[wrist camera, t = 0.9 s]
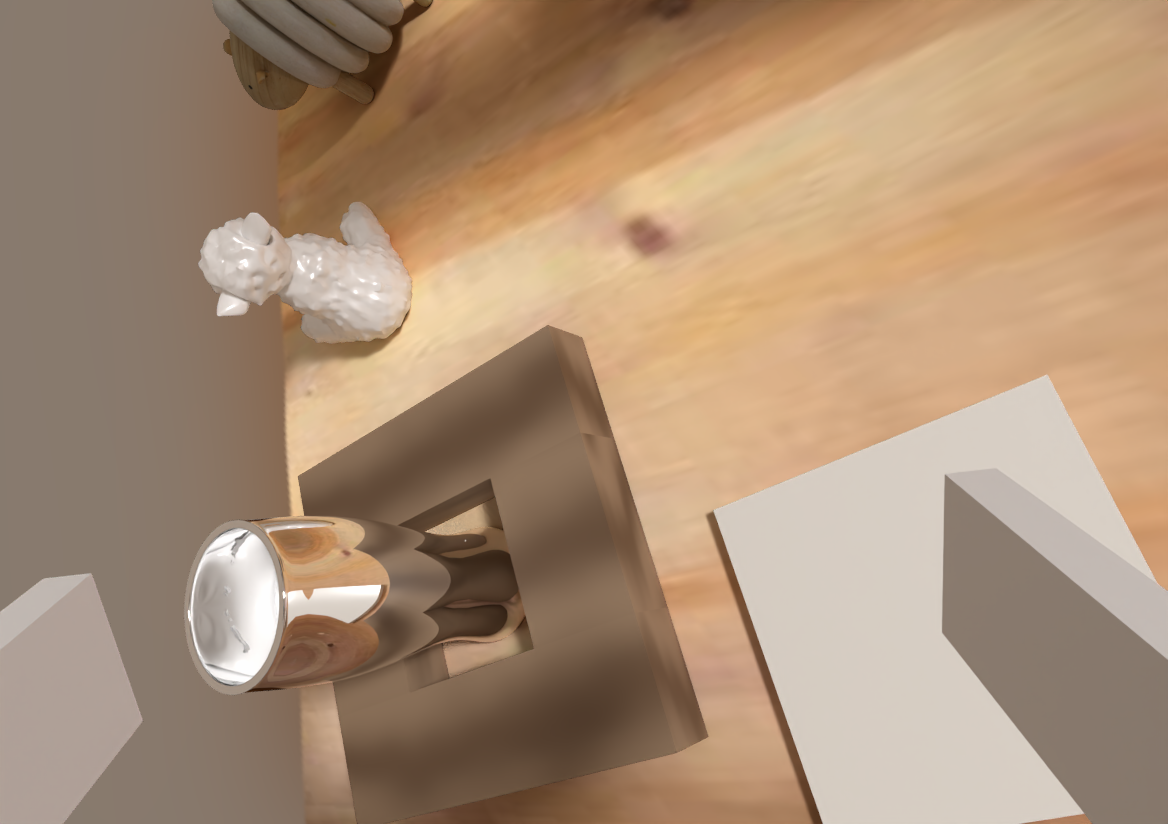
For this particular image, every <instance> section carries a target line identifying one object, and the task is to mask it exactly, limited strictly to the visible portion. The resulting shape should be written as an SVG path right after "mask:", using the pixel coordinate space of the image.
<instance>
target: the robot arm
mask: <svg viewBox="0 0 1168 824" xmlns="http://www.w3.org/2000/svg"><path fill="white" fill-rule="evenodd" d="M942 633H943V634H944V636H945V637H946V638H947V640H948V641H949V642H950V643H951V645H952V646H953V647H954V648H955V650H956V651H957V652H958V654H959V655H960V656H961V657H962V659H963V660H964V661H965V662H966V664H967V665H968V666H969V668H970V669H971V670H972V671H973V673H974V674H975V675H976V676H977V678H978V679H979V680H980V681H981V683H982V684H983V685H984V687H985V688H986V689H987V690H988V692H989V693H990V694H991V695H992V697H993V698H994V699H995V701H996V702H997V703H998V704H999V706H1000V707H1001V708H1002V709H1003V711H1004V712H1005V713H1006V715H1007V716H1008V717H1009V718H1010V720H1011V721H1012V722H1013V723H1014V725H1015V726H1016V727H1017V729H1018V730H1019V731H1020V732H1021V734H1022V735H1023V736H1024V737H1025V739H1026V740H1027V741H1028V742H1029V744H1030V745H1031V746H1032V748H1033V749H1034V750H1035V751H1036V753H1037V754H1038V755H1039V756H1040V758H1041V759H1042V760H1043V762H1044V763H1045V764H1046V765H1047V767H1048V768H1049V769H1050V770H1051V772H1052V773H1053V774H1054V776H1055V777H1056V778H1057V779H1058V781H1059V782H1060V783H1061V784H1062V786H1063V787H1064V788H1065V789H1066V791H1067V792H1068V793H1069V795H1070V796H1071V797H1072V798H1073V800H1074V801H1075V802H1076V803H1077V805H1078V806H1079V807H1080V809H1081V810H1082V811H1083V812H1084V814H1085V815H1086V816H1087V817H1088V819H1089V820H1090V821H1091V823H1092V824H1168V591H1167V590H1165V589H1164V588H1163V587H1161V586H1160V585H1158V584H1157V583H1156V582H1154V581H1153V580H1152V579H1150V578H1149V577H1147V576H1146V575H1145V574H1143V573H1142V572H1140V571H1139V570H1138V569H1136V568H1135V567H1133V566H1132V565H1131V564H1129V563H1128V562H1126V561H1125V560H1124V559H1122V558H1121V557H1119V556H1118V555H1117V554H1115V553H1114V552H1112V551H1111V550H1110V549H1108V548H1107V547H1105V546H1104V545H1103V544H1101V543H1100V542H1098V541H1097V540H1096V539H1094V538H1093V537H1092V536H1090V535H1089V534H1087V533H1086V532H1085V531H1083V530H1082V529H1080V528H1079V527H1078V526H1076V525H1075V524H1073V523H1072V522H1071V521H1069V520H1068V519H1066V518H1065V517H1064V516H1062V515H1061V514H1059V513H1058V512H1057V511H1055V510H1054V509H1052V508H1051V507H1050V506H1048V505H1047V504H1045V503H1044V502H1043V501H1041V500H1040V499H1038V498H1037V497H1036V496H1034V495H1033V494H1032V493H1030V492H1029V491H1027V490H1026V489H1025V488H1023V487H1022V486H1020V485H1019V484H1018V483H1016V482H1015V481H1013V480H1012V479H1011V478H1009V477H1008V476H1006V475H1005V474H1004V473H1002V472H1001V471H999V470H998V469H997V468H992V469H983V470H975V471H966V472H957V473H949V474H945V482H944V539H943V595H942ZM142 722H143V719H142V716H141V713H140V710H139V708H138V705H137V702H136V699H135V696H134V693H133V690H132V688H131V685H130V682H129V679H128V676H127V673H126V670H125V667H124V665H123V662H122V659H121V656H120V653H119V650H118V648H117V645H116V642H115V639H114V636H113V633H112V630H111V627H110V625H109V622H108V619H107V616H106V613H105V610H104V608H103V604H102V602H101V599H100V596H99V593H98V591H97V587H96V585H95V581H94V579H93V576H92V574H91V573H88V574H79V575H71V576H62V577H53V578H45V579H42V580H41V581H40V582H38V583H37V584H36V585H35V586H33V587H32V588H31V589H29V590H28V591H27V592H25V593H24V594H23V595H22V596H20V597H19V598H18V599H16V600H15V601H14V602H13V603H11V604H10V605H9V606H7V607H6V608H5V609H4V610H2V611H1V612H0V824H63V823H64V822H65V821H66V819H67V818H68V817H69V815H70V814H71V813H72V812H73V810H74V809H75V808H76V807H77V805H78V804H79V803H80V801H81V800H82V799H83V797H84V796H85V795H86V794H87V792H88V791H89V790H90V789H91V787H92V786H93V785H94V783H95V782H96V781H97V779H98V778H99V777H100V776H101V774H102V773H103V772H104V771H105V769H106V768H107V766H108V765H109V764H110V763H111V761H112V760H113V759H114V758H115V756H116V755H117V754H118V753H119V751H120V750H121V749H122V747H123V746H124V745H125V744H126V742H127V741H128V740H129V738H130V737H131V736H132V735H133V733H134V732H135V731H136V729H137V728H138V727H139V726H140V724H141V723H142Z"/></svg>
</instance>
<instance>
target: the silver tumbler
mask: <svg viewBox="0 0 1168 824" xmlns="http://www.w3.org/2000/svg"><path fill="white" fill-rule="evenodd" d="M524 617H525V611H524V608H523V604H522V600H521V596H520V592H519V588H518V584H517V580H516V576H515V572H514V568H513V565H512V561H511V557H510V553H509V549H508V545H507V541H506V537H505V533H504V531H503V530H501V529H498V528H494V527H479V528H474V529H470V530H466V531H463V532H459V533H455V534H449V535H440V534H431V533H427V532H422V531H418V530H414V529H409V528H405V527H401V526H397V525H393V524H388V523H384V522H380V521H374V520H368V519H362V518H356V517H343V516H292V517H279V518H266V519H255V520H231V521H228V522H225V523H223V524H222V525H220V526H218V527H217V528H216V529H214V530H213V531H212V532H211V533H210V534H209V535H208V537H207V538H206V539H205V540H204V542H203V543H202V545H201V547H200V548H199V550H198V552H197V554H196V556H195V559H194V561H193V564H192V567H191V570H190V573H189V577H188V581H187V586H186V593H185V602H184V623H185V633H186V639H187V644H188V648H189V651H190V655H191V658H192V660H193V662H194V665H195V667H196V669H197V671H198V672H199V674H200V676H201V677H202V678H203V679H204V681H205V682H206V683H207V684H208V685H209V686H210V687H211V688H213V689H214V690H216V691H218V692H220V693H223V694H226V695H238V694H242V693H248V692H258V691H270V690H281V689H290V688H300V687H307V686H313V685H320V684H326V683H331V682H335V681H340V680H344V679H348V678H352V677H356V676H360V675H362V674H365V673H368V672H371V671H374V670H377V669H379V668H382V667H385V666H387V665H390V664H392V663H394V662H397V661H399V660H401V659H404V658H406V657H408V656H411V655H413V654H415V653H418V652H420V651H422V650H424V649H427V648H429V647H432V646H435V645H437V644H440V643H444V642H448V641H454V640H468V641H476V642H496V641H499V640H502V639H504V638H506V637H507V636H509V635H510V634H512V633H513V632H514V631H515V630H516V629H517V628H518V627H519V625H520V624H521V622H522V621H523V619H524Z"/></svg>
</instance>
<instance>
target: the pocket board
mask: <svg viewBox="0 0 1168 824" xmlns="http://www.w3.org/2000/svg"><path fill="white" fill-rule="evenodd" d="M298 480H299V486H300V492H301V498H302V504H303V510H304V516H343V517H356V518H362V519H368V520H374V521H380V522H384V523H388V524H393V525H397V526H401V527H405V528H409V529H414V530H418V531H422V532H425V531H427V530H429V529H431V528H433V527H435V526H437V525H439V524H441V523H443V522H445V521H447V520H449V519H451V518H453V517H455V516H457V515H459V514H461V513H463V512H465V511H467V510H469V509H471V508H474V507H476V506H478V505H480V504H482V503H484V502H486V501H488V500H490V499H492V498H494V497H495V498H496V502H497V506H498V510H499V514H500V518H501V522H502V525H503V529H504V533H505V537H506V541H507V545H508V549H509V553H510V557H511V561H512V565H513V568H514V572H515V576H516V580H517V584H518V588H519V592H520V596H521V600H522V604H523V608H524V611H525V615H526V619H527V623H528V627H529V631H530V635H531V639H532V643H533V647H534V649H531V650H529V651H526V652H523V653H520V654H517V655H515V656H512V657H509V658H506V659H503V660H500V661H498V662H495V663H492V664H489V665H486V666H483V667H481V668H478V669H475V670H472V671H469V672H466V673H464V674H461V675H458V676H455V677H452V678H449V674H448V670H447V665H446V660H445V656H444V651H443V647H442V643H440V644H437V645H435V646H432V647H429V648H427V649H424V650H422V651H420V652H418V653H415V654H413V655H411V656H408V657H406V658H404V659H401V660H399V661H397V662H394V663H392V664H390V665H387V666H385V667H382V668H379V669H377V670H374V671H371V672H368V673H365V674H362V675H360V676H356V677H352V678H348V679H344V680H340V681H335V682H333V686H334V691H335V697H336V703H337V709H338V715H339V721H340V727H341V733H342V738H343V744H344V750H345V756H346V762H347V768H348V774H349V779H350V785H351V791H352V797H353V803H354V809H355V815H356V821H357V824H386V823H390V822H394V821H398V820H402V819H407V818H411V817H415V816H419V815H423V814H427V813H431V812H435V811H439V810H444V809H448V808H452V807H456V806H460V805H464V804H468V803H472V802H477V801H481V800H485V799H489V798H493V797H497V796H501V795H505V794H509V793H514V792H518V791H522V790H526V789H530V788H534V787H538V786H542V785H547V784H551V783H555V782H559V781H563V780H567V779H571V778H575V777H579V776H584V775H588V774H592V773H596V772H600V771H604V770H608V769H612V768H617V767H621V766H625V765H629V764H633V763H637V762H641V761H645V760H649V759H654V758H658V757H662V756H666V755H670V754H674V753H678V752H680V751H682V750H683V749H685V748H687V747H689V746H691V745H693V744H695V743H697V742H699V741H701V740H703V739H705V738H707V737H708V734H707V731H706V728H705V724H704V721H703V718H702V715H701V712H700V709H699V705H698V702H697V699H696V696H695V693H694V690H693V686H692V683H691V680H690V677H689V674H688V671H687V668H686V664H685V661H684V658H683V655H682V652H681V649H680V645H679V642H678V639H677V636H676V633H675V630H674V626H673V623H672V620H671V617H670V614H669V611H668V607H667V604H666V601H665V598H664V595H663V592H662V588H661V585H660V582H659V579H658V576H657V573H656V570H655V566H654V563H653V560H652V557H651V554H650V551H649V547H648V544H647V541H646V538H645V535H644V532H643V528H642V525H641V522H640V519H639V516H638V513H637V509H636V506H635V503H634V500H633V497H632V494H631V491H630V487H629V484H628V481H627V478H626V475H625V472H624V468H623V465H622V462H621V459H620V456H619V453H618V449H617V446H616V443H615V440H614V437H613V434H612V430H611V427H610V424H609V421H608V418H607V415H606V411H605V408H604V405H603V402H602V399H601V396H600V393H599V389H598V386H597V383H596V380H595V377H594V374H593V370H592V367H591V364H590V361H589V358H588V355H587V351H586V348H585V345H584V342H583V339H582V337H579V336H577V335H574V334H571V333H568V332H565V331H563V330H560V329H557V328H554V327H552V326H549V325H547V326H546V327H544V328H542V329H541V330H539V331H537V332H536V333H534V334H532V335H531V336H529V337H527V338H526V339H524V340H522V341H521V342H519V343H517V344H516V345H514V346H512V347H511V348H509V349H508V350H506V351H504V352H503V353H501V354H499V355H498V356H496V357H494V358H493V359H491V360H489V361H488V362H486V363H484V364H483V365H481V366H479V367H478V368H476V369H474V370H473V371H471V372H469V373H468V374H466V375H465V376H463V377H461V378H460V379H458V380H456V381H455V382H453V383H451V384H450V385H448V386H446V387H445V388H443V389H441V390H440V391H438V392H436V393H435V394H433V395H431V396H430V397H428V398H426V399H425V400H423V401H422V402H420V403H418V404H417V405H415V406H413V407H412V408H410V409H408V410H407V411H405V412H403V413H402V414H400V415H398V416H397V417H395V418H393V419H392V420H390V421H388V422H387V423H385V424H383V425H382V426H380V427H379V428H377V429H375V430H374V431H372V432H370V433H369V434H367V435H365V436H364V437H362V438H360V439H359V440H357V441H355V442H354V443H352V444H350V445H349V446H347V447H345V448H344V449H342V450H340V451H339V452H337V453H336V454H334V455H332V456H331V457H329V458H327V459H326V460H324V461H322V462H321V463H319V464H317V465H316V466H314V467H312V468H311V469H309V470H307V471H306V472H304V473H302V474H301V475H299V476H298Z"/></svg>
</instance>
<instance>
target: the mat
mask: <svg viewBox="0 0 1168 824" xmlns="http://www.w3.org/2000/svg"><path fill="white" fill-rule="evenodd" d="M992 468H997V469H998V470H999V471H1001V472H1002V473H1004V474H1005V475H1006V476H1008V477H1009V478H1011V479H1012V480H1013V481H1015V482H1016V483H1018V484H1019V485H1020V486H1022V487H1023V488H1025V489H1026V490H1027V491H1029V492H1030V493H1032V494H1033V495H1034V496H1036V497H1037V498H1038V499H1040V500H1041V501H1043V502H1044V503H1045V504H1047V505H1048V506H1050V507H1051V508H1052V509H1054V510H1055V511H1057V512H1058V513H1059V514H1061V515H1062V516H1064V517H1065V518H1066V519H1068V520H1069V521H1071V522H1072V523H1073V524H1075V525H1076V526H1078V527H1079V528H1080V529H1082V530H1083V531H1085V532H1086V533H1087V534H1089V535H1090V536H1092V537H1093V538H1094V539H1096V540H1097V541H1098V542H1100V543H1101V544H1103V545H1104V546H1105V547H1107V548H1108V549H1110V550H1111V551H1112V552H1114V553H1115V554H1117V555H1118V556H1119V557H1121V558H1122V559H1124V560H1125V561H1126V562H1128V563H1129V564H1131V565H1132V566H1133V567H1135V568H1136V569H1138V570H1139V571H1140V572H1142V573H1143V574H1145V575H1146V576H1147V577H1149V578H1150V579H1152V580H1153V581H1154V582H1156V580H1155V578H1154V576H1153V574H1152V572H1151V570H1150V568H1149V567H1148V565H1147V563H1146V561H1145V559H1144V557H1143V555H1142V553H1141V551H1140V549H1139V548H1138V546H1137V544H1136V542H1135V540H1134V538H1133V536H1132V534H1131V532H1130V530H1129V529H1128V527H1127V525H1126V523H1125V521H1124V519H1123V517H1122V515H1121V513H1120V512H1119V510H1118V508H1117V506H1116V504H1115V502H1114V500H1113V498H1112V496H1111V494H1110V493H1109V491H1108V489H1107V487H1106V485H1105V483H1104V481H1103V479H1102V477H1101V476H1100V474H1099V472H1098V470H1097V468H1096V466H1095V464H1094V462H1093V460H1092V458H1091V457H1090V455H1089V453H1088V451H1087V449H1086V447H1085V445H1084V443H1083V441H1082V439H1081V438H1080V436H1079V434H1078V432H1077V430H1076V428H1075V426H1074V424H1073V422H1072V421H1071V419H1070V417H1069V415H1068V413H1067V411H1066V409H1065V407H1064V405H1063V403H1062V402H1061V400H1060V398H1059V396H1058V394H1057V392H1056V390H1055V388H1054V386H1053V385H1052V383H1051V381H1050V379H1049V377H1048V375H1045V376H1043V377H1040V378H1038V379H1035V380H1033V381H1030V382H1028V383H1025V384H1023V385H1021V386H1018V387H1016V388H1013V389H1011V390H1008V391H1006V392H1003V393H1001V394H998V395H996V396H993V397H991V398H989V399H986V400H984V401H981V402H979V403H976V404H974V405H971V406H969V407H966V408H964V409H961V410H959V411H956V412H954V413H952V414H949V415H947V416H944V417H942V418H939V419H937V420H934V421H932V422H929V423H927V424H924V425H922V426H920V427H917V428H915V429H912V430H910V431H907V432H905V433H902V434H900V435H897V436H895V437H892V438H890V439H888V440H885V441H883V442H880V443H878V444H875V445H873V446H870V447H868V448H865V449H863V450H860V451H858V452H855V453H853V454H851V455H848V456H846V457H843V458H841V459H838V460H836V461H833V462H831V463H828V464H826V465H823V466H821V467H819V468H816V469H814V470H811V471H809V472H806V473H804V474H801V475H799V476H796V477H794V478H791V479H789V480H786V481H784V482H782V483H779V484H777V485H774V486H772V487H769V488H767V489H764V490H762V491H759V492H757V493H754V494H752V495H750V496H747V497H745V498H742V499H740V500H737V501H735V502H732V503H730V504H727V505H725V506H722V507H720V508H718V509H715V510H713V511H714V514H715V517H716V519H717V522H718V525H719V528H720V531H721V534H722V537H723V539H724V542H725V545H726V548H727V551H728V554H729V557H730V559H731V562H732V565H733V568H734V571H735V574H736V577H737V579H738V582H739V585H740V588H741V591H742V594H743V597H744V599H745V602H746V605H747V608H748V611H749V614H750V617H751V619H752V622H753V625H754V628H755V631H756V634H757V637H758V640H759V642H760V645H761V648H762V651H763V654H764V657H765V660H766V662H767V665H768V668H769V671H770V674H771V677H772V680H773V682H774V685H775V688H776V691H777V694H778V697H779V700H780V702H781V705H782V708H783V711H784V714H785V717H786V720H787V722H788V725H789V728H790V731H791V734H792V737H793V740H794V742H795V745H796V748H797V751H798V754H799V757H800V760H801V762H802V765H803V768H804V771H805V774H806V777H807V780H808V782H809V785H810V788H811V791H812V794H813V797H814V800H815V802H816V805H817V808H818V811H819V814H820V817H821V820H822V822H823V824H1021V823H1027V822H1034V821H1040V820H1046V819H1053V818H1059V817H1066V816H1072V815H1079V814H1084V812H1083V811H1082V810H1081V809H1080V807H1079V806H1078V805H1077V803H1076V802H1075V801H1074V800H1073V798H1072V797H1071V796H1070V795H1069V793H1068V792H1067V791H1066V789H1065V788H1064V787H1063V786H1062V784H1061V783H1060V782H1059V781H1058V779H1057V778H1056V777H1055V776H1054V774H1053V773H1052V772H1051V770H1050V769H1049V768H1048V767H1047V765H1046V764H1045V763H1044V762H1043V760H1042V759H1041V758H1040V756H1039V755H1038V754H1037V753H1036V751H1035V750H1034V749H1033V748H1032V746H1031V745H1030V744H1029V742H1028V741H1027V740H1026V739H1025V737H1024V736H1023V735H1022V734H1021V732H1020V731H1019V730H1018V729H1017V727H1016V726H1015V725H1014V723H1013V722H1012V721H1011V720H1010V718H1009V717H1008V716H1007V715H1006V713H1005V712H1004V711H1003V709H1002V708H1001V707H1000V706H999V704H998V703H997V702H996V701H995V699H994V698H993V697H992V695H991V694H990V693H989V692H988V690H987V689H986V688H985V687H984V685H983V684H982V683H981V681H980V680H979V679H978V678H977V676H976V675H975V674H974V673H973V671H972V670H971V669H970V668H969V666H968V665H967V664H966V662H965V661H964V660H963V659H962V657H961V656H960V655H959V654H958V652H957V651H956V650H955V648H954V647H953V646H952V645H951V643H950V642H949V641H948V640H947V638H946V637H945V636H944V634H943V633H942V595H943V539H944V482H945V474H949V473H957V472H966V471H975V470H983V469H992ZM1156 583H1157V582H1156Z"/></svg>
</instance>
